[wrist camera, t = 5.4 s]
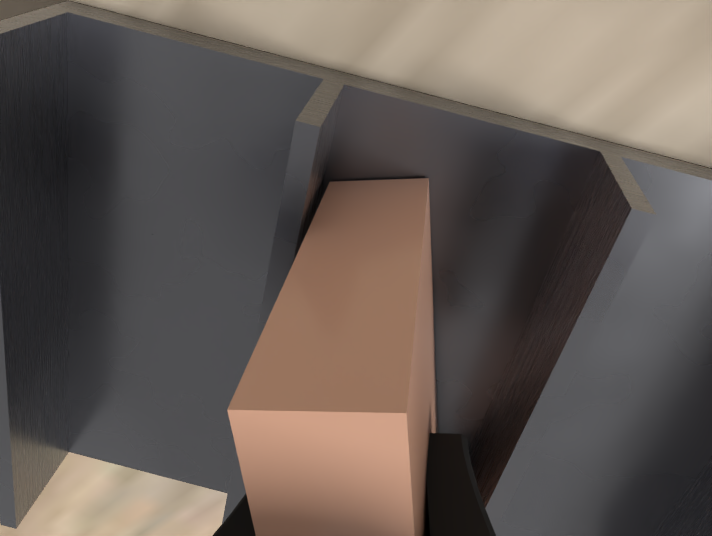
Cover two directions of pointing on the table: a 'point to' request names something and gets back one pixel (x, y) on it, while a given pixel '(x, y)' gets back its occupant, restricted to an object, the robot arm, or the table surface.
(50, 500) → the table surface
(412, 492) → the upright salmon slab
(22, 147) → the rack
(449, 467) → the robot arm
